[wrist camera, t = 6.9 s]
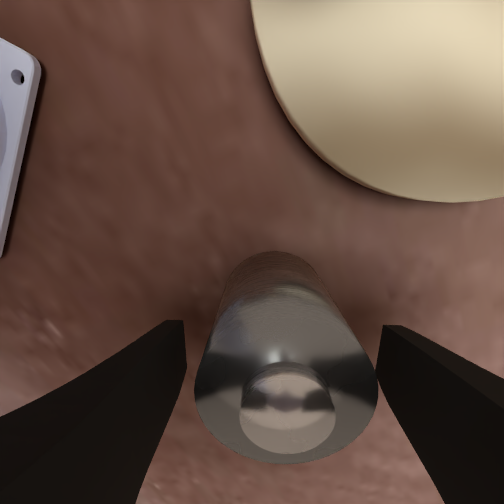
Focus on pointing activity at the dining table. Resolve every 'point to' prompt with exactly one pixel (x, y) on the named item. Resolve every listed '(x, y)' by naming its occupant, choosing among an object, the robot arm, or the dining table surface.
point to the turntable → (393, 90)
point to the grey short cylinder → (283, 366)
